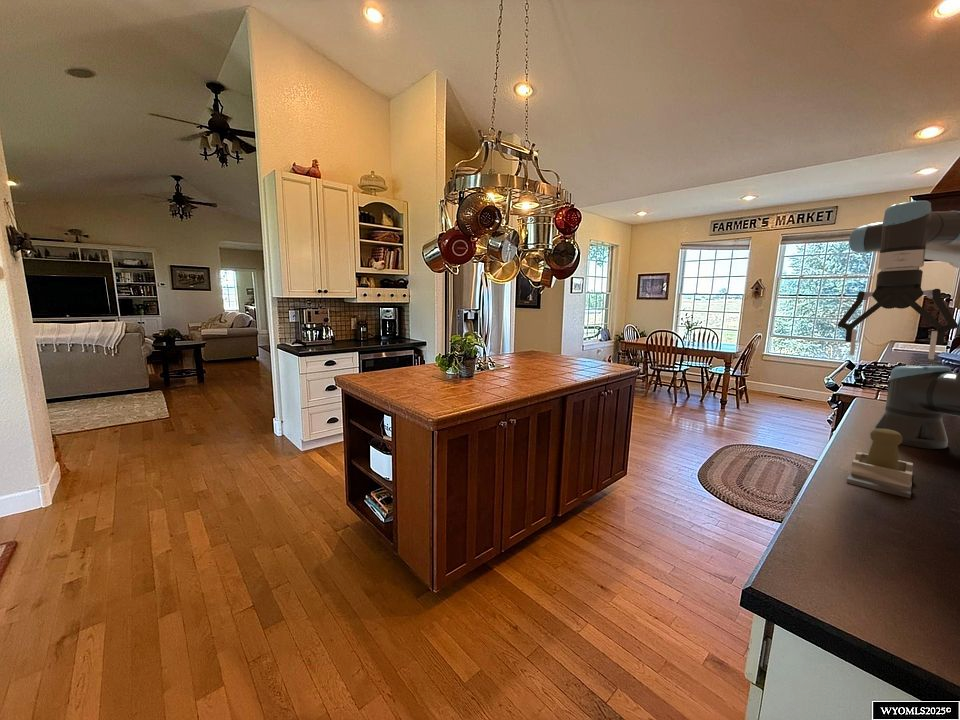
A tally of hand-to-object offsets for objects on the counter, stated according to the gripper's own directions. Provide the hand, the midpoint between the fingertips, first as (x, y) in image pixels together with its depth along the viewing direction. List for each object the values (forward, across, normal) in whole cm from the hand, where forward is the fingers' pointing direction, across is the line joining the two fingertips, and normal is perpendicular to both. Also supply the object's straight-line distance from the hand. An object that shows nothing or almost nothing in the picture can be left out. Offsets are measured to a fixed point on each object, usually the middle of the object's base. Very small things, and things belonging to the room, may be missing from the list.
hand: (889, 356), depth 97 cm
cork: (+27, +1, -11) cm, 30 cm away
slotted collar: (+28, +1, -12) cm, 30 cm away
